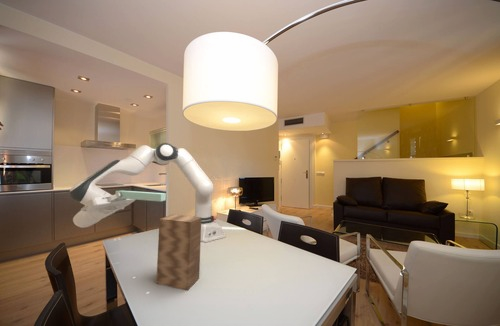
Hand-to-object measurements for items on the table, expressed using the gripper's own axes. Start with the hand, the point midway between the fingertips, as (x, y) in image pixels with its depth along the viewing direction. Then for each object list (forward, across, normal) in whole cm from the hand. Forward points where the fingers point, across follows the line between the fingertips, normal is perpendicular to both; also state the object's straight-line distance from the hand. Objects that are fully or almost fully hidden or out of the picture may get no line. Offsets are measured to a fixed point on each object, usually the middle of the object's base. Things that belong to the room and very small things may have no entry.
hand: (125, 193), depth 84 cm
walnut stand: (+9, 0, +44) cm, 44 cm away
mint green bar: (+6, 0, +6) cm, 8 cm away
